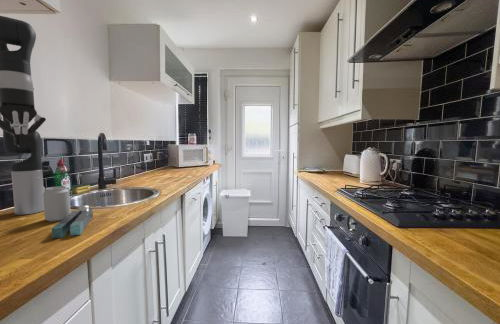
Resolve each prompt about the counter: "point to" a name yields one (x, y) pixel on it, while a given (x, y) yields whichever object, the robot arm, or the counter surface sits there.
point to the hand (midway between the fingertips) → (21, 146)
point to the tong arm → (81, 222)
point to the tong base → (66, 223)
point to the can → (56, 203)
